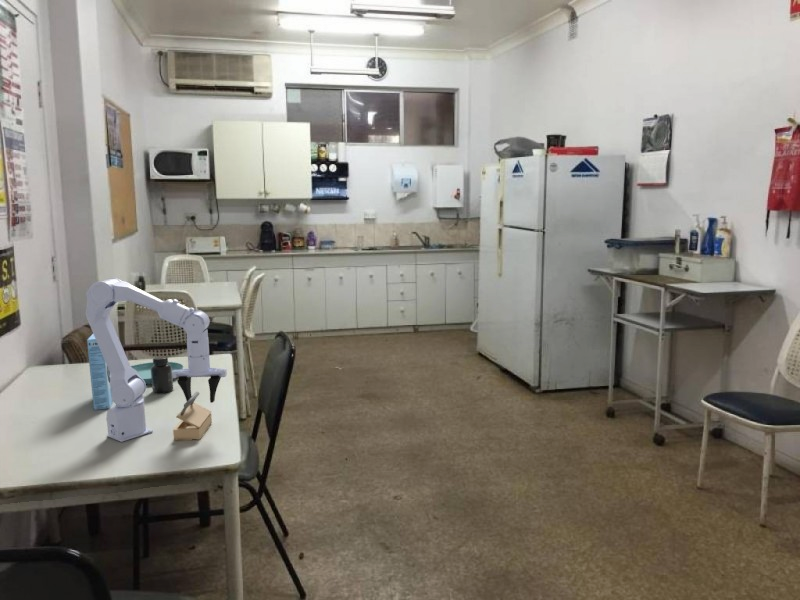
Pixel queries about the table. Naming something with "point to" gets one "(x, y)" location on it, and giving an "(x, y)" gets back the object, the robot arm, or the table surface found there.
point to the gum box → (99, 376)
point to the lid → (193, 412)
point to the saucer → (145, 370)
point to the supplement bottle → (161, 375)
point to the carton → (190, 430)
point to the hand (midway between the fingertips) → (201, 401)
